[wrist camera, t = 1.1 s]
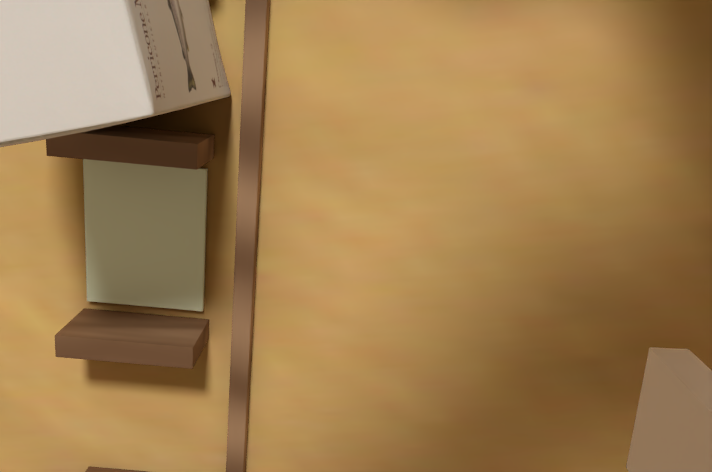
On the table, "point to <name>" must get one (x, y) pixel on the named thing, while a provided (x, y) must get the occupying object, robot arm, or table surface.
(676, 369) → the robot arm
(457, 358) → the table surface
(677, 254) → the table surface
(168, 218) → the pad
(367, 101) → the table surface
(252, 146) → the notch rail
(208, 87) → the supplement box
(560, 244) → the table surface
